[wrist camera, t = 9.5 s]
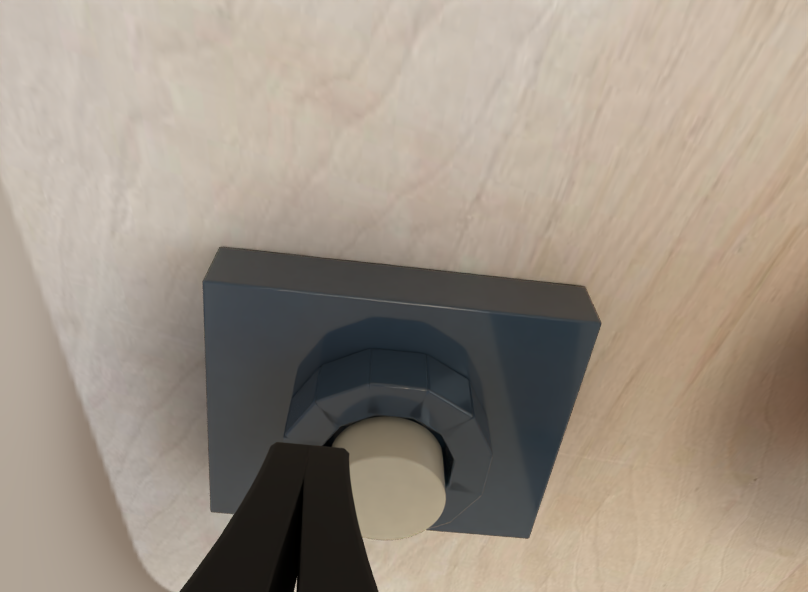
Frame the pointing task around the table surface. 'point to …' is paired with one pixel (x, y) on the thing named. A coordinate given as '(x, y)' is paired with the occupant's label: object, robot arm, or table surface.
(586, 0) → the table surface
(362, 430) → the cream cylinder puck
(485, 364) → the push button base
